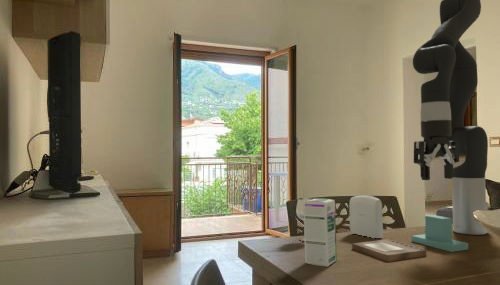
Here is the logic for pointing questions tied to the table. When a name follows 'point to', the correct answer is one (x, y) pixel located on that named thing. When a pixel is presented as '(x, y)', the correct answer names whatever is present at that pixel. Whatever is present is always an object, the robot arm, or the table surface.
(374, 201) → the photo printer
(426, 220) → the stub
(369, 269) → the table surface
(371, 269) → the table surface
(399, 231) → the table surface
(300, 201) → the wineglass
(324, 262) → the syrup box
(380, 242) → the board
